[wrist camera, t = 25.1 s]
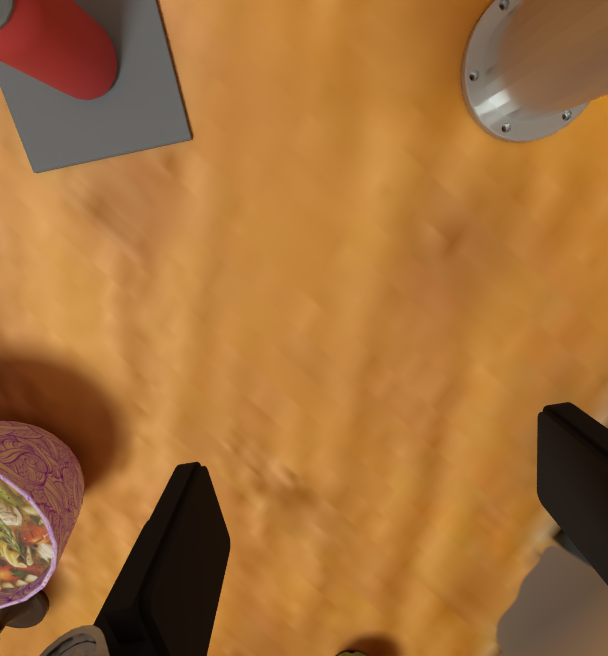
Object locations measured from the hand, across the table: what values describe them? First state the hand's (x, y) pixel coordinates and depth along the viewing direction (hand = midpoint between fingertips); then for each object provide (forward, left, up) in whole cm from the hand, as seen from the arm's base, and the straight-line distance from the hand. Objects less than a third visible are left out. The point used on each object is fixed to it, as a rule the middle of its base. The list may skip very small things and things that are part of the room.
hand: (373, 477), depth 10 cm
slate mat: (+18, -24, -30) cm, 43 cm away
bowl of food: (+40, +16, -31) cm, 53 cm away
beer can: (+18, -24, -30) cm, 42 cm away
